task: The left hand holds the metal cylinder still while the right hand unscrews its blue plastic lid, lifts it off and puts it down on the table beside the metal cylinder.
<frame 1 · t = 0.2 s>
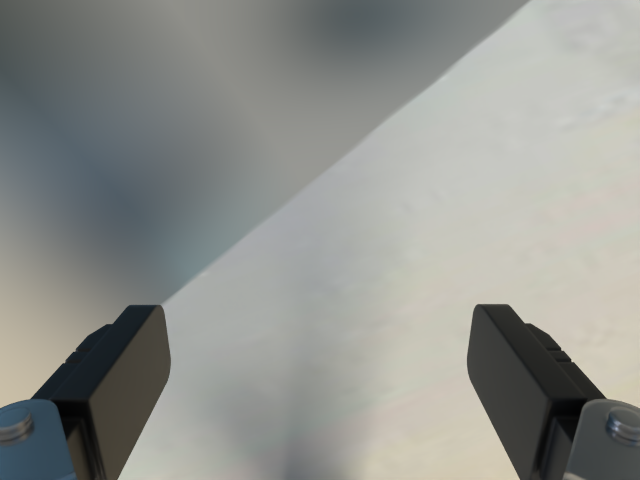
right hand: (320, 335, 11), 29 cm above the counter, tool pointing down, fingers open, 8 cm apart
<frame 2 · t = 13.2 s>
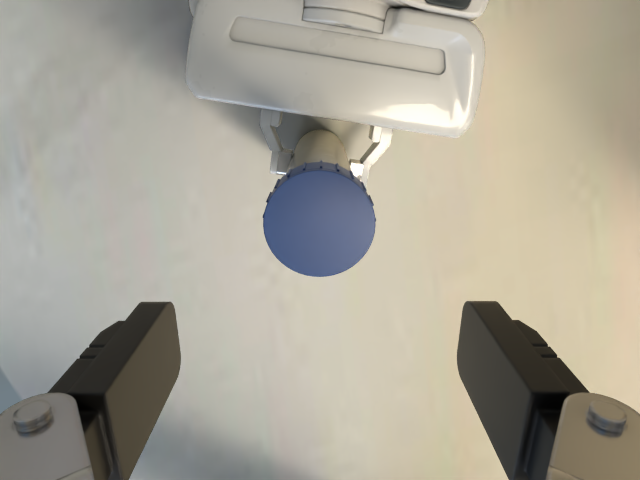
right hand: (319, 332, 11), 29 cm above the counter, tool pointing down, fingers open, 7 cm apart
left hand: (318, 179, 33), fingers closed on metal cylinder, 4 cm apart
metal cylinder: (319, 155, 39), on the counter, touching left hand
lid: (319, 223, 20), point 20 cm above the counter, screwed on, not yet turned
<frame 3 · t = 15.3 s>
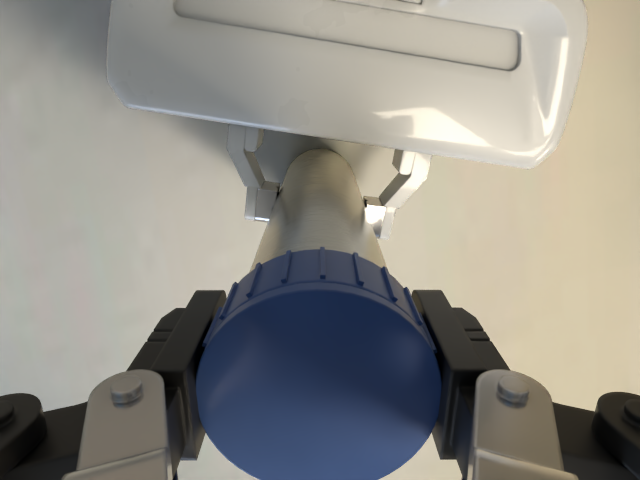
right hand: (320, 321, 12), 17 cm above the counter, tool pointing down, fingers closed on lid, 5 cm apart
metal cylinder: (319, 183, 28), on the counter, touching left hand
lid: (318, 389, 9), point 20 cm above the counter, screwed on, not yet turned, touching right hand
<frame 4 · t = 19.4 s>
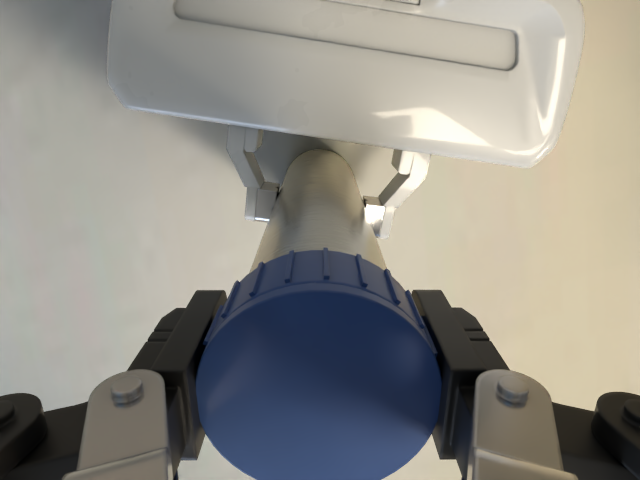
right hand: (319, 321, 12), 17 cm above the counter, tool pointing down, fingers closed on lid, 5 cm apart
metal cylinder: (319, 184, 28), on the counter, touching left hand
lid: (318, 390, 9), point 20 cm above the counter, turned 101° so far, risen 0.1 cm, still on its thread, touching right hand
when the right hand's fingers open (1 cm above the counter, at t = 38.7 s): lid drops 2 cm, point 2 cm above the counter.
when the left hand's fingers open (6 cm above the counter, at t = 39.7 s): metal cylinder stays where it is, on the counter.
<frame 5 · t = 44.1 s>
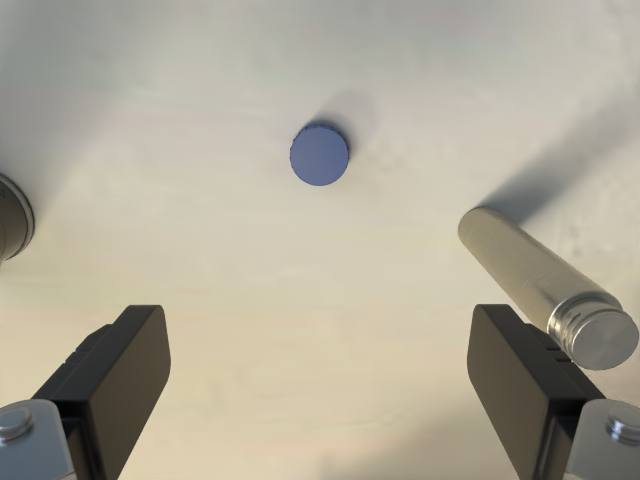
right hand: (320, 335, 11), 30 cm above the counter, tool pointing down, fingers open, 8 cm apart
metal cylinder: (480, 228, 42), on the counter
lid: (319, 156, 38), point 2 cm above the counter, off its thread
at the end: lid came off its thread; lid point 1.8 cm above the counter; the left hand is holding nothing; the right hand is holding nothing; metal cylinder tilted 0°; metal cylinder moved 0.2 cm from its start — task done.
